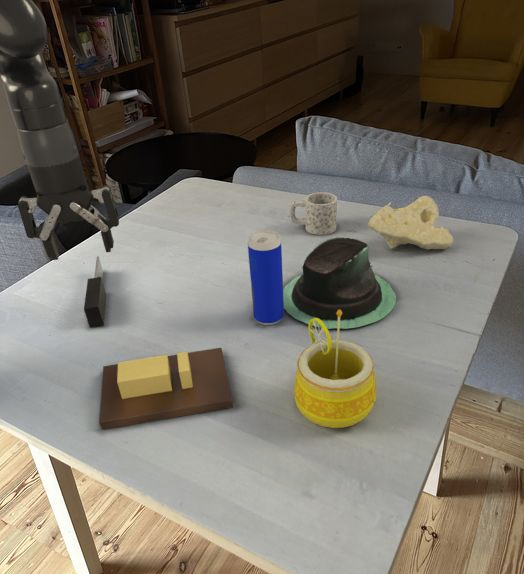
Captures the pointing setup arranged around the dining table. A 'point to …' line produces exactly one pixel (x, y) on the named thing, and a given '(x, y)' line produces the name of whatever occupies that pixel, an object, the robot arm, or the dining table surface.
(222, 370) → the board
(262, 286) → the beverage can
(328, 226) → the mug
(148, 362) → the butter block
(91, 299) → the knife
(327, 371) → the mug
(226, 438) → the dining table surface
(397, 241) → the cheese
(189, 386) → the butter slice
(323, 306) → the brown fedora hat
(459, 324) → the dining table surface
